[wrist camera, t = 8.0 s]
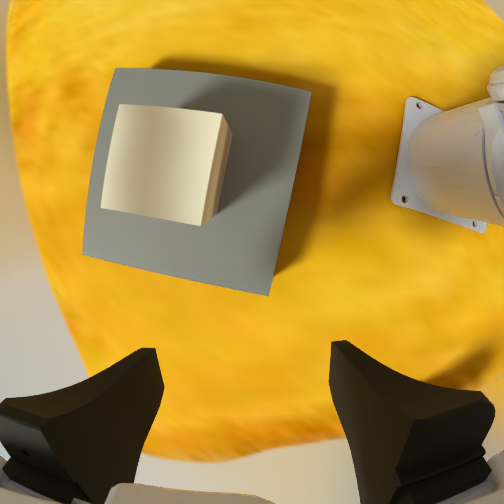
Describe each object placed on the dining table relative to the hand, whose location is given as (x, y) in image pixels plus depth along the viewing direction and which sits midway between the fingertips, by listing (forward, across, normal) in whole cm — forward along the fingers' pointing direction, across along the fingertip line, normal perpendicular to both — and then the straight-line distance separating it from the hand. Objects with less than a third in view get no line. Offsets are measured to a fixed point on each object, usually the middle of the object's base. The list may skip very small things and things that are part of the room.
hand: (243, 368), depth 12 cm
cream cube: (+6, +3, -8) cm, 11 cm away
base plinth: (+9, +3, -8) cm, 13 cm away
